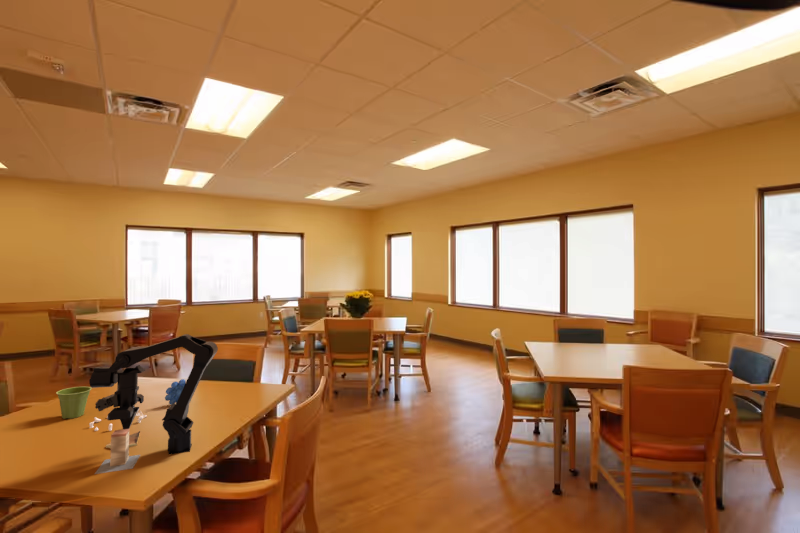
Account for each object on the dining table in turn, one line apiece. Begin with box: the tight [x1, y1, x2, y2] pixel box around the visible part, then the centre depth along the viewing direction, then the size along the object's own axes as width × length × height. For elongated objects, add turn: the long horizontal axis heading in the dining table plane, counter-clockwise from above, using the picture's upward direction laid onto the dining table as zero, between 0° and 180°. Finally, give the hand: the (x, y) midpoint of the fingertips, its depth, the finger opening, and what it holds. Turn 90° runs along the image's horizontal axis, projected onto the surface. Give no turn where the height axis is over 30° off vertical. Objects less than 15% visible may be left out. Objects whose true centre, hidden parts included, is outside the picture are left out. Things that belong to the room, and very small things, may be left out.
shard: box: [105, 430, 141, 449], centre depth 141 cm, size 13×9×2 cm
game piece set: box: [88, 408, 148, 432], centre depth 160 cm, size 19×20×4 cm
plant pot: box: [55, 386, 93, 420], centre depth 166 cm, size 12×12×11 cm
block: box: [109, 428, 130, 466], centre depth 125 cm, size 4×4×10 cm
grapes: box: [164, 378, 187, 406], centre depth 183 cm, size 12×7×12 cm, turn 115°
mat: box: [94, 454, 141, 475], centre depth 124 cm, size 10×10×1 cm
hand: (126, 431), depth 132 cm, fingers closed
